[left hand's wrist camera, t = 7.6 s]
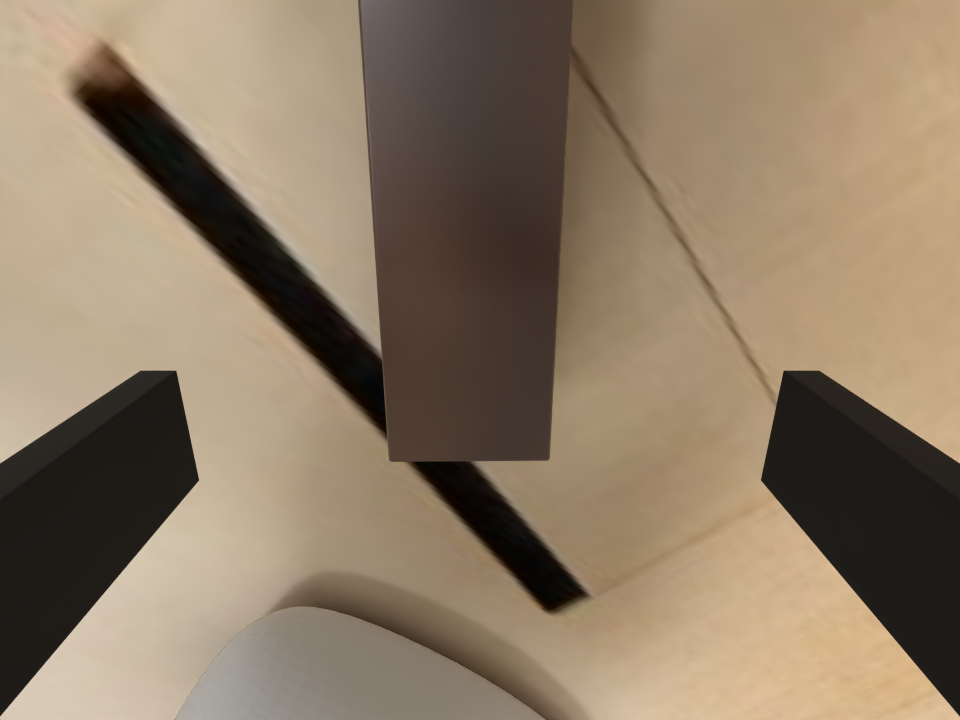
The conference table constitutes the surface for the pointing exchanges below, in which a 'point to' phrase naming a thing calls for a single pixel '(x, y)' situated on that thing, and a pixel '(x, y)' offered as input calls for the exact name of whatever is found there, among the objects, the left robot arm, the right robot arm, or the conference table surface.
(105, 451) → the left robot arm
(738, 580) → the conference table surface
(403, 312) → the beam
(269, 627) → the projector
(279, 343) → the conference table surface
